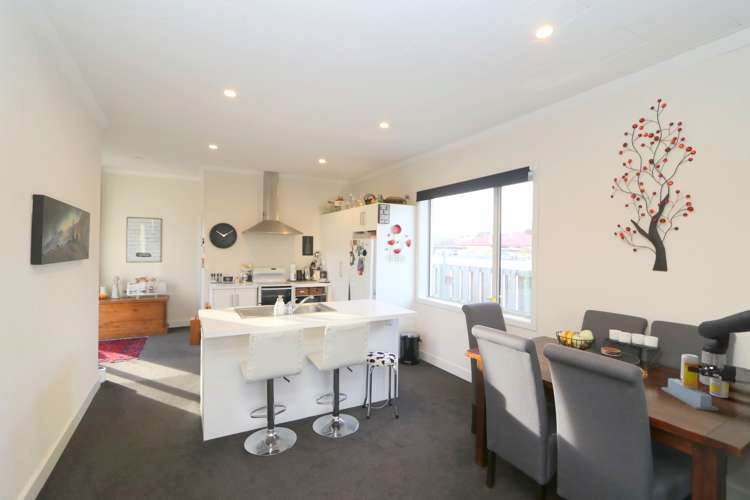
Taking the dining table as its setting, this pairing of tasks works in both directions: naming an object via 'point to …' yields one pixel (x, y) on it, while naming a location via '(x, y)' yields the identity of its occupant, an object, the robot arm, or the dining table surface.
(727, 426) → the dining table surface
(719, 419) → the dining table surface
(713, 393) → the supplement bottle
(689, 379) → the beer can
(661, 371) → the dining table surface
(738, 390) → the dining table surface
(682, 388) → the rail
